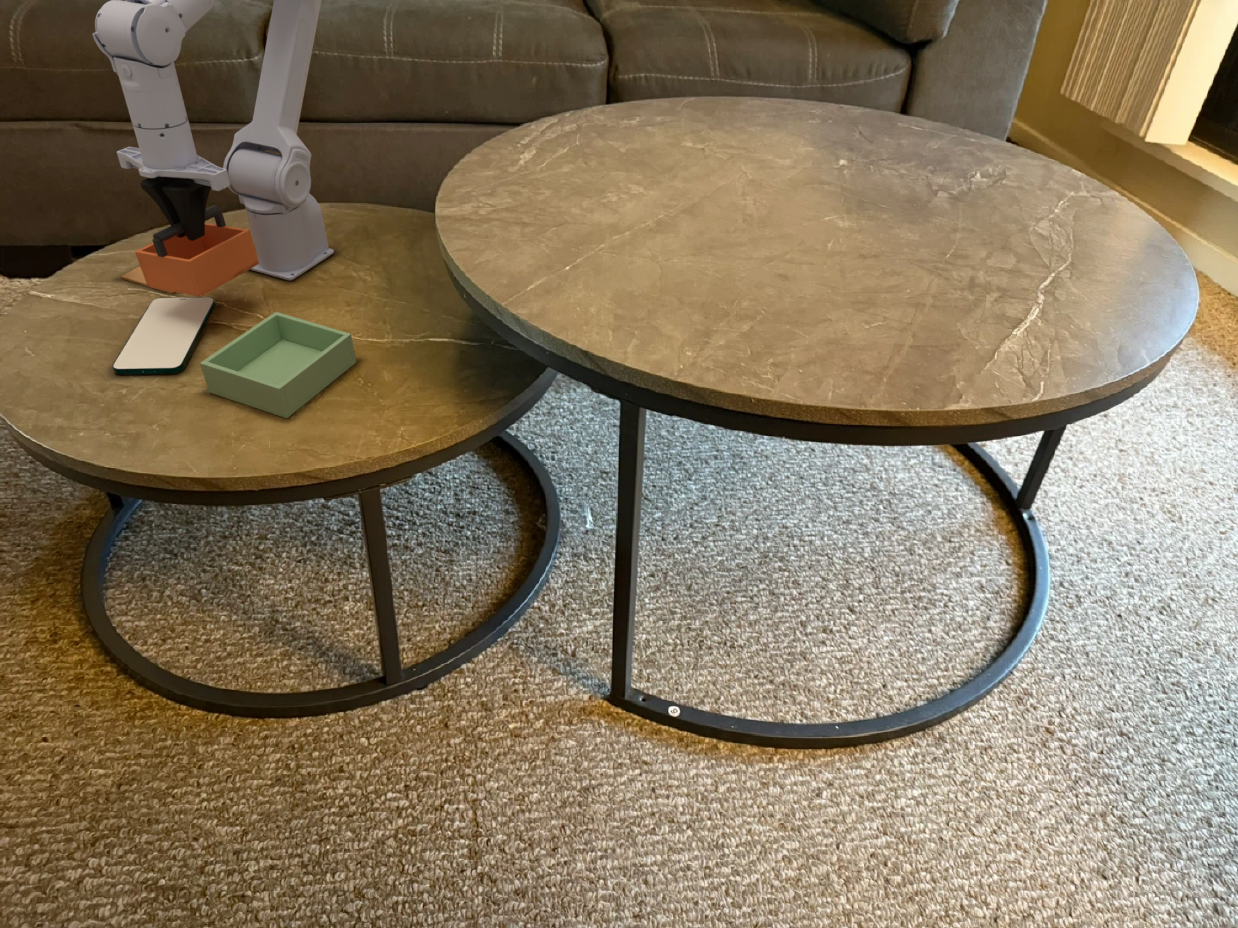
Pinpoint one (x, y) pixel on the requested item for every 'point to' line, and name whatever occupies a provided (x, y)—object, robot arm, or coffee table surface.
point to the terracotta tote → (197, 257)
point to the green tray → (279, 364)
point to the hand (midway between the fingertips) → (191, 235)
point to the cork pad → (139, 278)
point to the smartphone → (165, 336)
